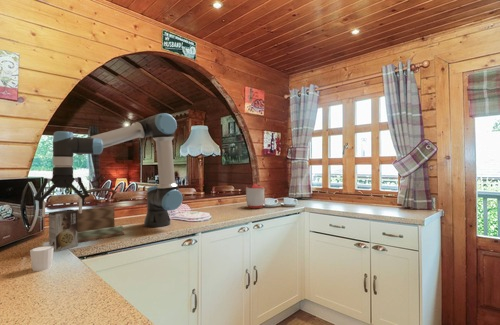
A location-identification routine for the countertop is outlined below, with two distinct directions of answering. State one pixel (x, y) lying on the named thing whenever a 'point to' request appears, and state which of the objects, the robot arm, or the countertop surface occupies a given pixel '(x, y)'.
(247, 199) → the citrus juicer
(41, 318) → the countertop surface
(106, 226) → the wall rack
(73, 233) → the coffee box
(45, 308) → the countertop surface
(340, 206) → the countertop surface
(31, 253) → the white cylinder
